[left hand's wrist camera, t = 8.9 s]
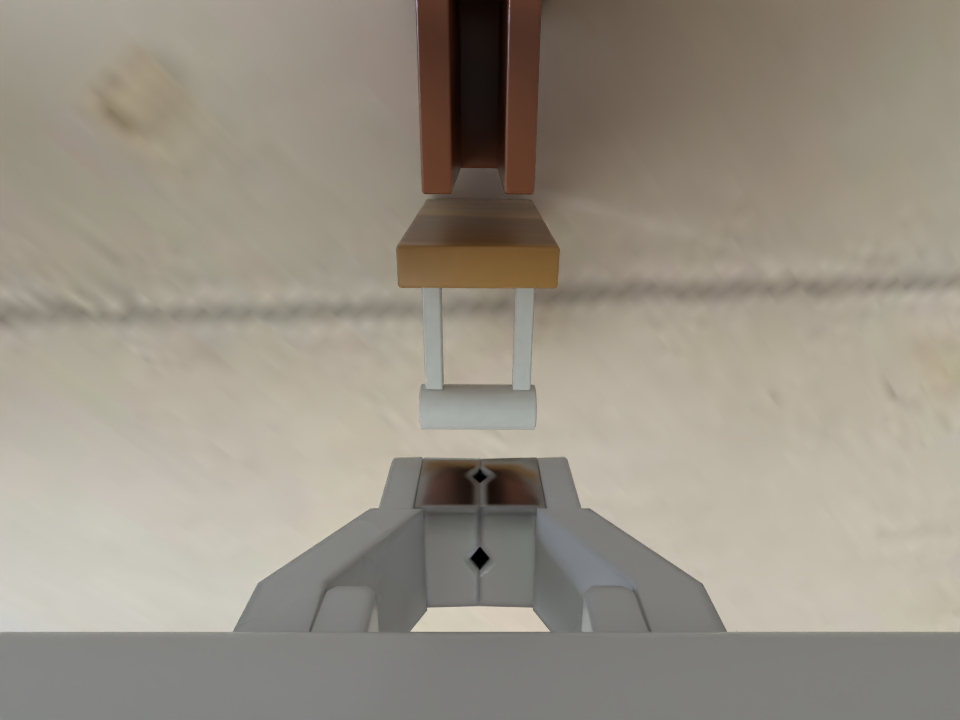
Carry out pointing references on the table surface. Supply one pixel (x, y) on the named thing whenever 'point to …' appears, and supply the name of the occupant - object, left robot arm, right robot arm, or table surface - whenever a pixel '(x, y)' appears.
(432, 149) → the drawer
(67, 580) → the table surface
